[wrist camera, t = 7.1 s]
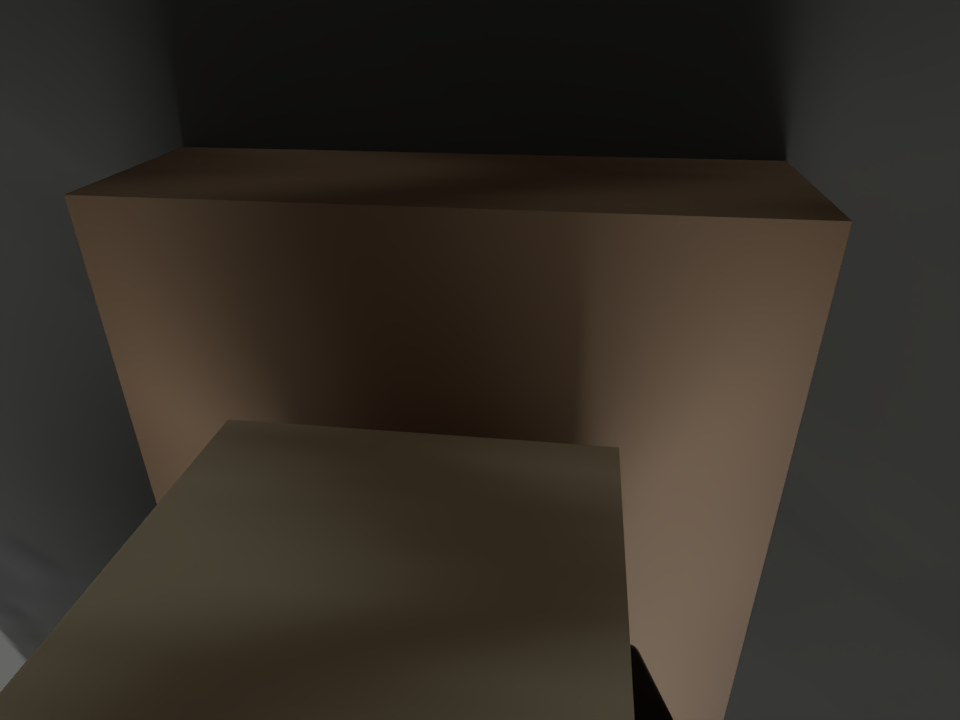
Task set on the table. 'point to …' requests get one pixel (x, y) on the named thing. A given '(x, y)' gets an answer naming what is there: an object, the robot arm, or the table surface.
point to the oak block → (355, 587)
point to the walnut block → (494, 333)
